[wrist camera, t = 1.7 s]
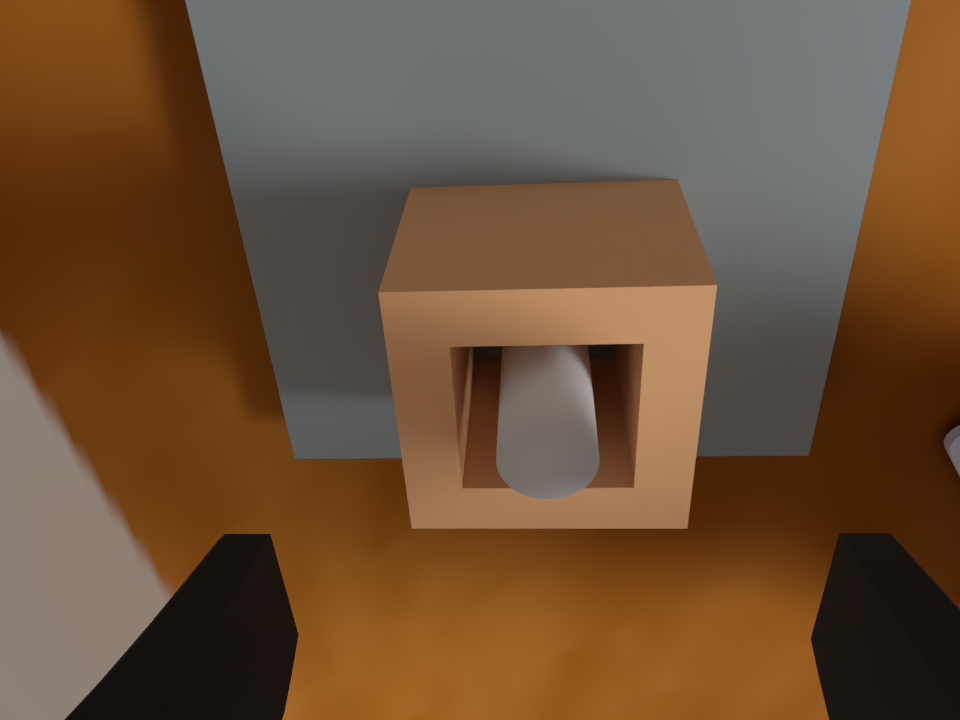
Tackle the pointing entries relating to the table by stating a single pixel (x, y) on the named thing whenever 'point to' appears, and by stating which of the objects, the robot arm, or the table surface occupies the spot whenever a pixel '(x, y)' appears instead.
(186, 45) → the table surface
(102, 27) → the table surface
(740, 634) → the table surface
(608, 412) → the collar
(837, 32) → the board
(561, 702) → the table surface
